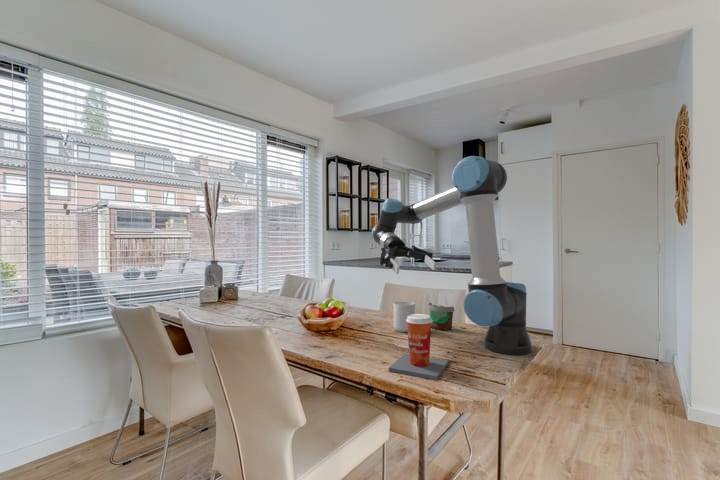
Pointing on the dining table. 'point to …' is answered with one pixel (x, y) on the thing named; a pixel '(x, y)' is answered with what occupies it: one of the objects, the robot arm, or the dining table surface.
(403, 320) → the mug
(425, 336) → the paper cup
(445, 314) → the food container
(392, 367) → the pad
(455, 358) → the dining table surface
